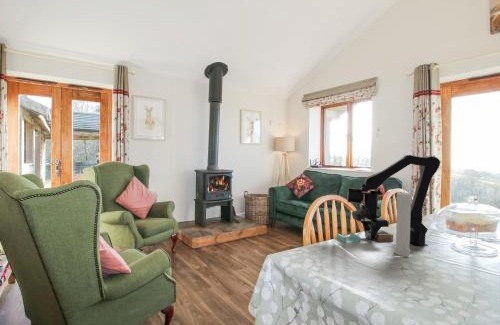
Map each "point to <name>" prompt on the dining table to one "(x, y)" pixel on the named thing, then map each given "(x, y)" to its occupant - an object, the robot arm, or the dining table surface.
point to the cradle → (349, 238)
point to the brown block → (384, 237)
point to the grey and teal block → (368, 234)
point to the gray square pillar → (403, 223)
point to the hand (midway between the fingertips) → (369, 237)
